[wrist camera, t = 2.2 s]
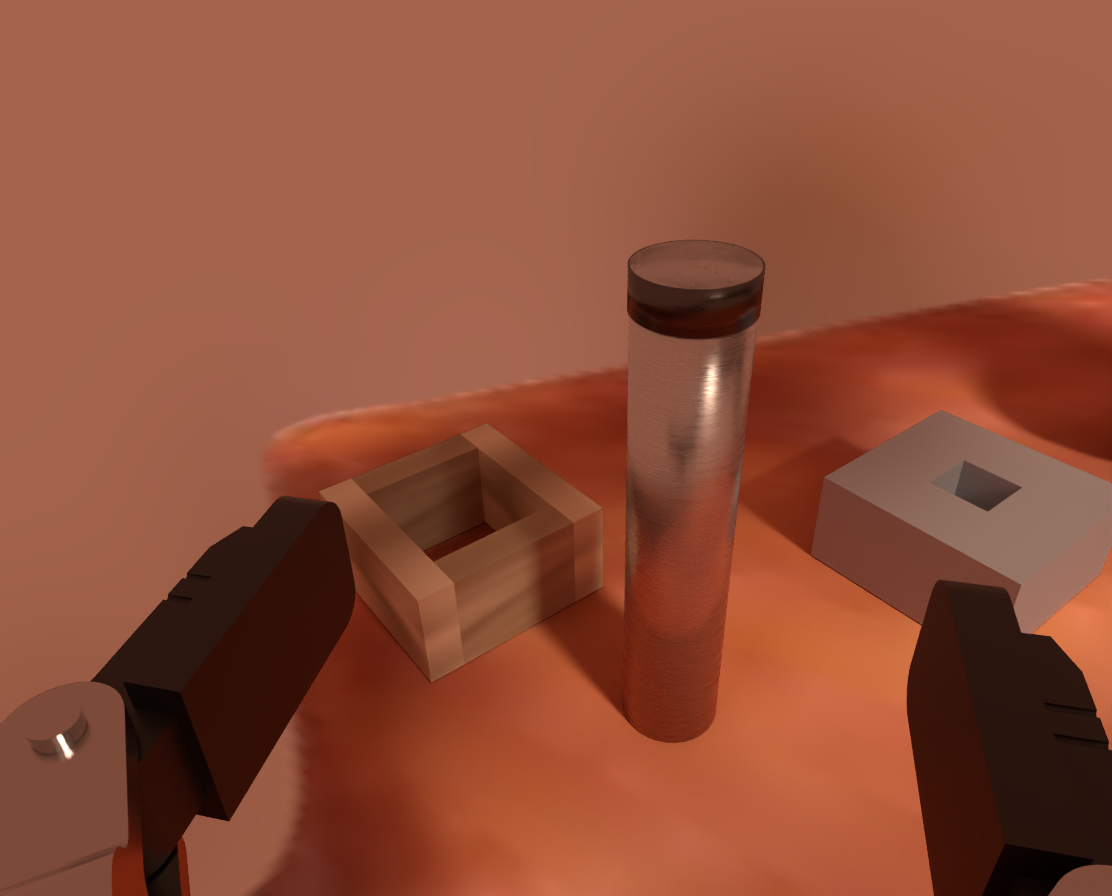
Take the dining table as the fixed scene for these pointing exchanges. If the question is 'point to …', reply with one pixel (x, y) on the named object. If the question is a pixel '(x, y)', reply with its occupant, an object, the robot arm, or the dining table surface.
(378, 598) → the wooden square box frame
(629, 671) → the pin
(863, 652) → the dining table surface
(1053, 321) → the dining table surface
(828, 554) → the block
